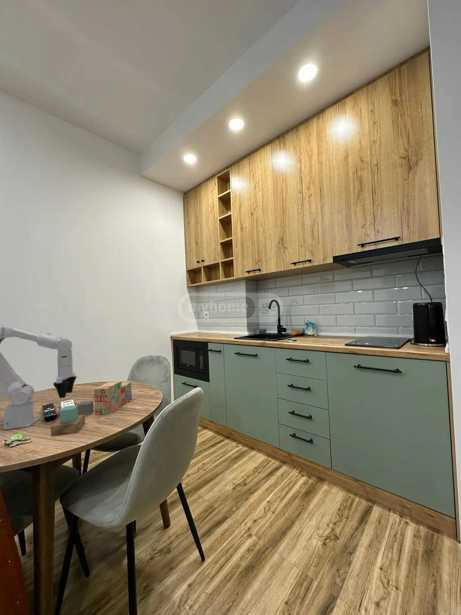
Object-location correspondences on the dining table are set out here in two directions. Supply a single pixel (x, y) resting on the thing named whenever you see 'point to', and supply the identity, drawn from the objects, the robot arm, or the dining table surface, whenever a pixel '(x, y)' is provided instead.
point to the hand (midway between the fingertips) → (65, 395)
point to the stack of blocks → (111, 396)
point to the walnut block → (67, 426)
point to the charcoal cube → (85, 408)
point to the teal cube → (68, 414)
